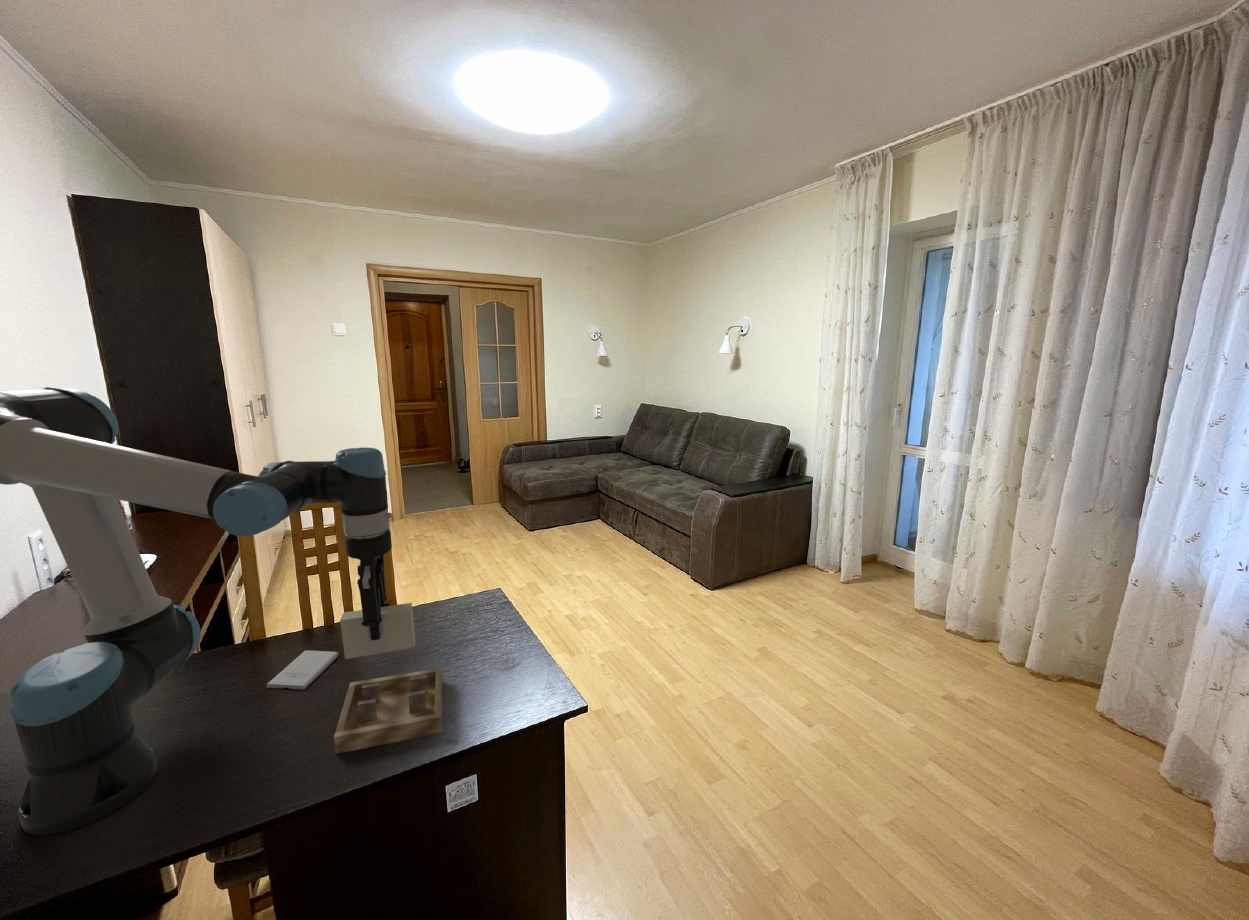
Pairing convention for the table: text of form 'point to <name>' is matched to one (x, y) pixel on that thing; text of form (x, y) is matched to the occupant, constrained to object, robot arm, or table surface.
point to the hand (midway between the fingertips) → (379, 646)
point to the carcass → (390, 710)
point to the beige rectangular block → (395, 630)
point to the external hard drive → (303, 670)
